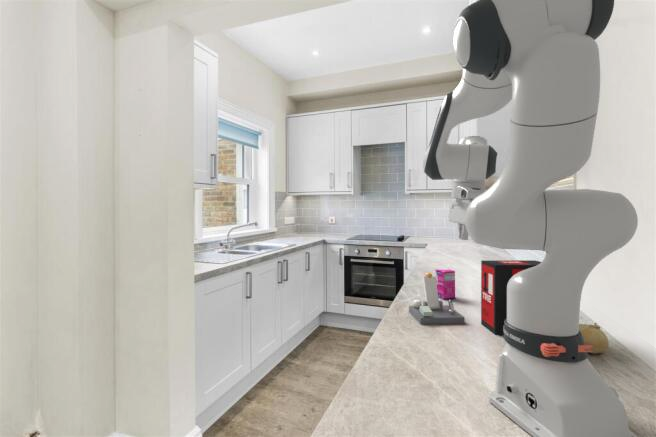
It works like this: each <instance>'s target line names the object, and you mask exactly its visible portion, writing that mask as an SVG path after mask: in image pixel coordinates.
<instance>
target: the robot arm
mask: <svg viewBox="0 0 656 437" xmlns="http://www.w3.org/2000/svg"><path fill="white" fill-rule="evenodd" d="M614 6H615V0H477V1H475V2H473V3H471V4H470V5H468V6H466V7H464V8H463V10H461V12H460V14H459V16H458V18H457V19H456V21H455V25H454V29H453V30H454V31H453V43H452V44H453V50H454V54H455V57H456V58H455V59H456V61H457V63H458V65H459V66H460V67H461V68H462V74H461V75H462V76H461V79H460V81H459V83H458V85H457V86H456V87H455V88H454V89H453V91H452V90H451V91H450V92H449V93H447V94H446V95H445V96H444V98H443V100H442V102H441V105H440V107H439V111H438V114H437V117H436V121H435V124H434V128H433V131H432V135H431V139H430V142H429V144H428V146H427V147H428V148H427V150H426V151H425V153H424V157H423V162H422V167H423V172H424V174H425V175H426V176H427V177H428V178H430V180H432V181H437V180H438V181H439V180H440V181H441V180H443V181H444V180H452V185H451V186H452V189H451V201H450V206H449V212H448V221H449V222H451V223H454V224H455V223H456V224H457V230H458V239H460V240H462V241H468V240H469V237H470V238H471V239H472V240H473V242H474V243H476V244H477V245H478V244H479V245H483V246H487V247H491V248H497V249H501V250H524V251H542V252H545V256H544V258H543V260H541V261H540V262H541V263H540V264H539V265H537V266H534V267H531V268H528V269H525V270H523V271H520V272H518V273H517V274H515V275H513V276H512V277H511V278H510V280H509V282H508V284H507V319H505V321H504V327H503V331H504V335H503V339H504V341H505V344H504V346H503V349H502V350H501V352H500V354H499V355H498V358H497V359H498V360H497V365H496V366H497V367H496V368H497V369H496V379H495V387H494V388H495V389H494V390H493V391H492V392H491V393H489V397H488V401H489V403H491V404H492V406H495V408H496V409H498V410H499V411H501V412H502V413H503V414H504V415H506V416H507V417H508V418H510V419H511V420H512V421H513V422H515V424H517V425H518V426H519V427H520V428H521V429H523V430H524V431H525V432H527V433H528V434H529V435H531V436H532V437H638V436H637V435H636V434H635V433H634V432H633V431H632V430H631V429H630V428H629V419H628V415H627V414H628V413H627V410H626V408H625V405H624V403H623V402H622V401H621V400H620V397H619V393H618V392H617V389H615V388H614V387H613V386H610V385H609V384H608V383H607V382H606V381H605V379H604V378H603V377H602V375H601V374H600V373H599V372H598V370H597V369H596V368H595V366H594V365H593V364H592V363H591V361H590V360H589V352H593V351H591V350H587V349H588V348H591V347H593V346H592V345H585V342H584V339H583V336H582V333H581V331H580V330H579V324H580V309H581V301H582V300H581V299H582V292H583V288H584V284H585V282H586V280H587V279H588V277H589V275H590V274H591V272H592V271H593V270H594V269H595V267H596V266H597V265H598V264H599V263H600V262H601V261H603V259H605V258H606V257H608V256H610V254H612V253H614V252H616V251H617V250H620V249H623V247H625V246H626V245H627V244H628V243H629V242H630V241H631V240H632V239H633V237H634V236H635V234H636V231H637V228H638V225H639V224H638V222H639V221H638V220H639V218H638V213H637V210H636V209H635V206H634V205H633V203H632V202H631V201H630V200H629V199H628V198H627V197H626V196H625V195H624V194H622V193H620V192H613V191H607V190H606V191H605V190H597V189H592V188H591V189H590V188H589V189H588V188H584V189H583V188H582V189H581V188H578V189H577V188H575V189H552V190H551V189H549V190H547V189H548V188H549V187H551V186H552V185H554V184H556V183H558V182H560V181H563V180H565V179H566V178H569V177H571V176H573V175H575V174H576V173H578V172H579V171H580V170H581V169H582V168H584V166H585V165H586V164H587V163H588V161H589V159H590V157H591V155H592V150H593V149H592V148H593V143H594V135H595V129H596V123H597V116H598V111H599V110H598V109H599V104H600V96H601V95H600V93H601V62H600V59H601V58H600V52H599V51H600V49H599V45H598V43H597V41H596V40H597V39H598V38H599V37H600V36H602V34H603V33H604V31H605V29H606V28H607V26H608V24H609V23H610V20H611V18H612V15H613V11H614V8H615V7H614ZM510 102H511V104H510V120H509V121H510V122H509V137H508V138H509V139H508V150H507V156H506V161H505V164H504V166H503V169H502V171H501V173H500V174H499V176H498V178H497V179H496V181H495V182H494V183H492V185H490V187H488V188H486V180H488V179H489V178H491V177H492V176H493V175H494V174H496V170H497V168H496V167H497V157H498V152H497V151H496V149H495V148H494V147H493V146H491V145H490V144H489V145H488V140H487V139H486V138H485V137H483V136H478V135H470V136H464V137H462V138H461V139H460V140H459V142H458V143H448V140H449V139H450V135H451V132H452V130H453V129H454V128H455V127H457V126H459V125H461V124H463V123H466V122H469V121H472V120H475V119H480V118H483V117H486V116H490V115H493V114H495V113H497V112H498V111H500V110H502V109H503V108H505V107H506V106H507V105H509V103H510Z"/></svg>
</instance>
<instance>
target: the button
mask: <svg viewBox="0 0 656 437" xmlns="http://www.w3.org/2000/svg"><path fill="white" fill-rule="evenodd" d="M412 303H413V305H412V306H413V307H416V308H420V306H423V305H422V304H423V301H422V300H421V299H413V302H412Z"/></svg>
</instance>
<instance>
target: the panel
mask: <svg viewBox="0 0 656 437" xmlns="http://www.w3.org/2000/svg"><path fill="white" fill-rule="evenodd" d="M422 304H423V305H422V306H427V302H426V300H423V301H422ZM439 305H440V309H431V311H432V316H423V315H422V313H421V312H420V310H419V309H420V308H416V307H413V305H409V306H408V312H409V313H410V314H411V316H412V317H413V318H414V319H415V320H416V321H417V323H419V325H455V324H456V325H457V324H459V325H460V324H464V325H465V322H466V321H465V316H463V315H462V314H461V313H459V312H458V311H457V310H455V311H456V313H449V304H448V305H447V304H444V303H443V301H442V300H439Z"/></svg>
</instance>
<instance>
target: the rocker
mask: <svg viewBox="0 0 656 437" xmlns="http://www.w3.org/2000/svg"><path fill="white" fill-rule="evenodd" d="M419 310H420V312H421V313H422V315H423V316H432V311H431V309H430V308H429V307H428V306H423V305H422V306H420V309H419Z"/></svg>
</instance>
